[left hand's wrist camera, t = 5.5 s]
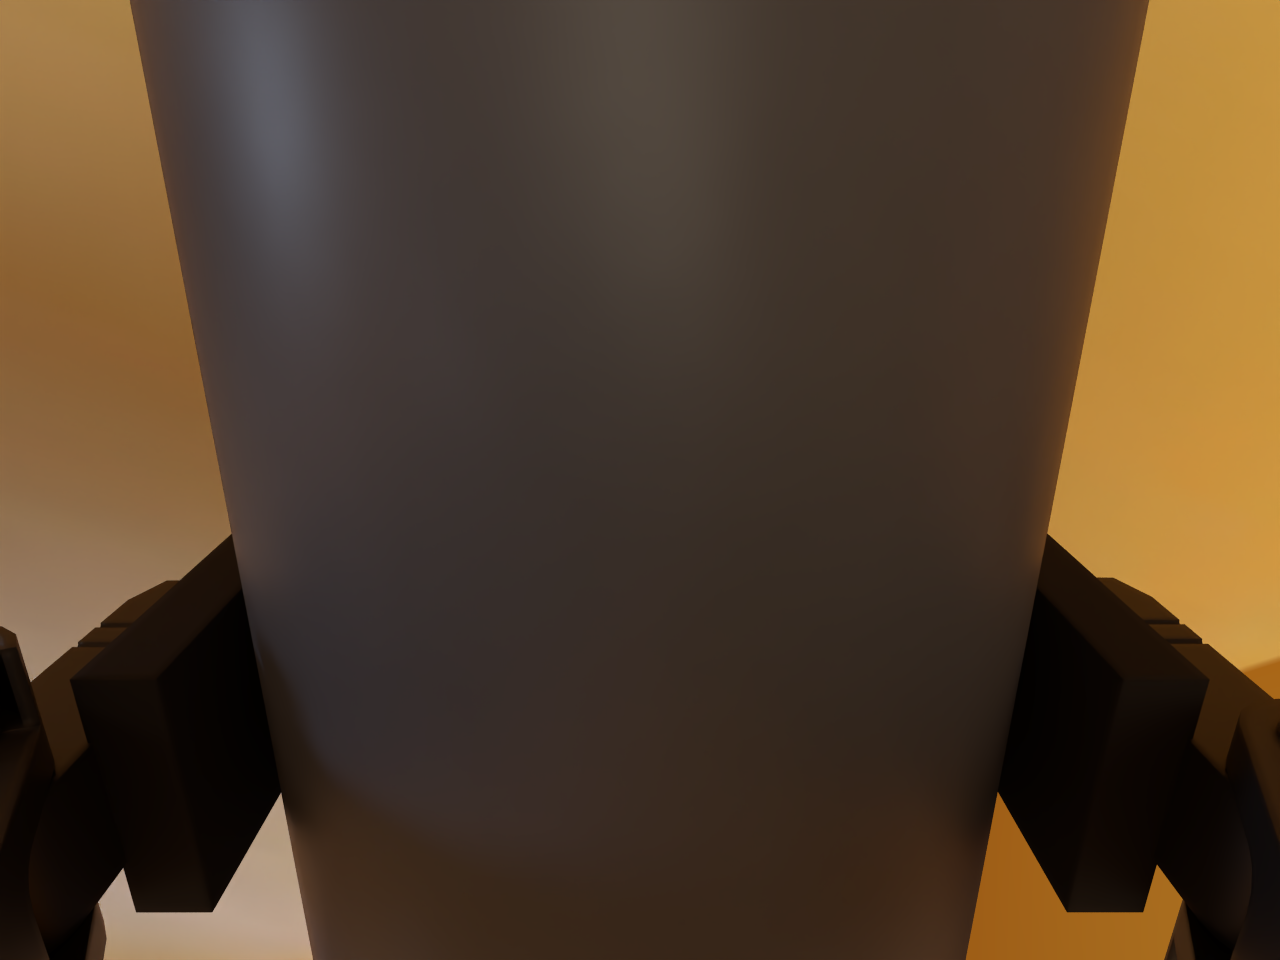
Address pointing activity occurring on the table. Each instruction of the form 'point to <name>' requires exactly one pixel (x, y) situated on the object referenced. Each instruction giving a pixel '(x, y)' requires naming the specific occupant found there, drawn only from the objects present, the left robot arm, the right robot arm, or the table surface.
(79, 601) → the table surface
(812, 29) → the rod
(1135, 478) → the table surface
